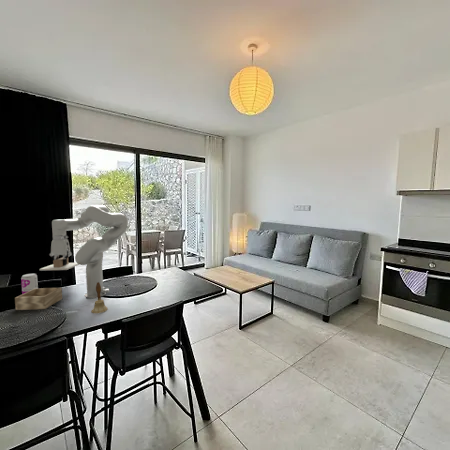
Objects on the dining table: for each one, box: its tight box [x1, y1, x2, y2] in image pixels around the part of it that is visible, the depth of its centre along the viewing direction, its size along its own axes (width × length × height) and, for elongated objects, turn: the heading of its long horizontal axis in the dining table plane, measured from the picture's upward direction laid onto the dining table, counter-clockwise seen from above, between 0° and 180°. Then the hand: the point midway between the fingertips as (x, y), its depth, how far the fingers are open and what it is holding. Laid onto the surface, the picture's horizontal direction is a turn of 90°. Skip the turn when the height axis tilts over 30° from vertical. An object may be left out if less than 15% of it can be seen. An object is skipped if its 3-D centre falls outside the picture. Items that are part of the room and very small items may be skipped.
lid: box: [39, 257, 80, 271], centre depth 168 cm, size 17×17×6 cm
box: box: [14, 287, 63, 311], centre depth 148 cm, size 16×16×8 cm
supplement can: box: [20, 273, 39, 295], centre depth 162 cm, size 8×8×15 cm
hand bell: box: [90, 282, 109, 315], centre depth 139 cm, size 8×8×16 cm
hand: (61, 264), depth 168 cm, fingers closed on lid, 4 cm apart
